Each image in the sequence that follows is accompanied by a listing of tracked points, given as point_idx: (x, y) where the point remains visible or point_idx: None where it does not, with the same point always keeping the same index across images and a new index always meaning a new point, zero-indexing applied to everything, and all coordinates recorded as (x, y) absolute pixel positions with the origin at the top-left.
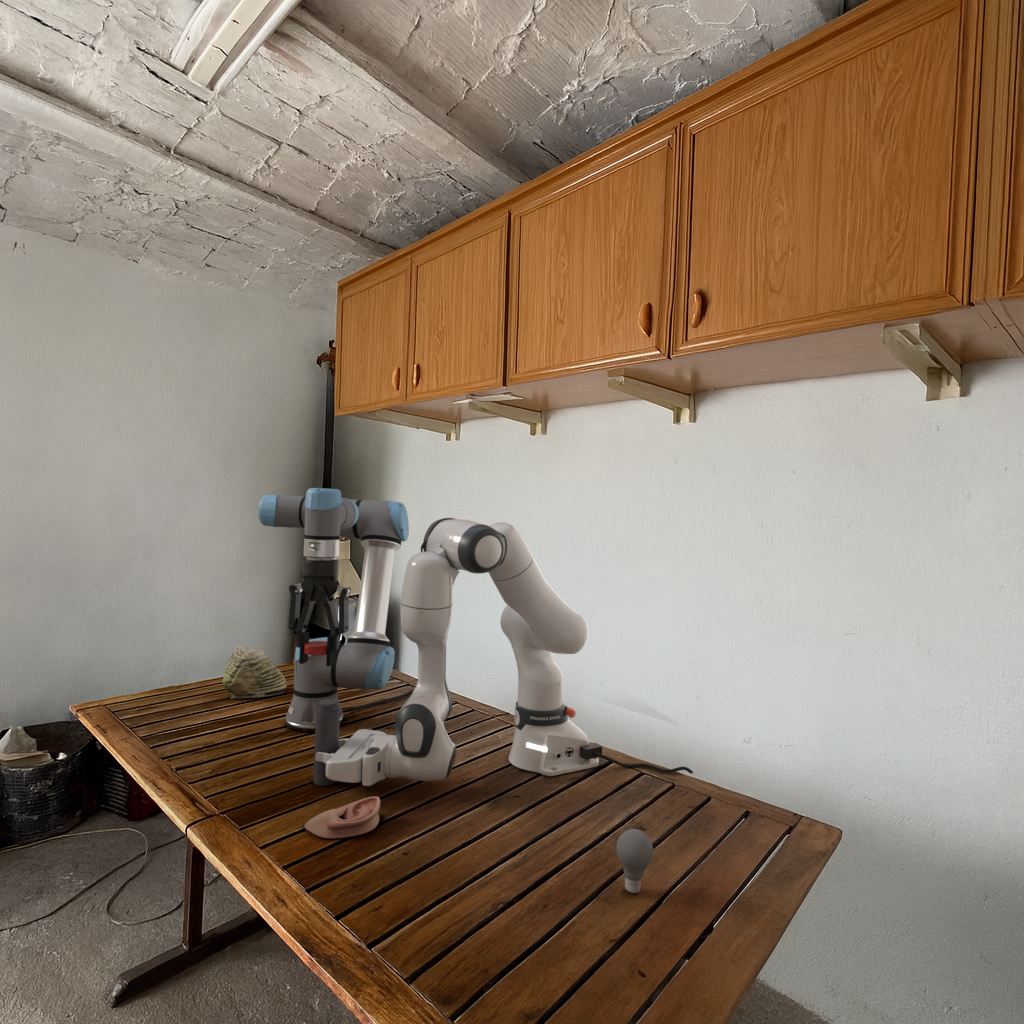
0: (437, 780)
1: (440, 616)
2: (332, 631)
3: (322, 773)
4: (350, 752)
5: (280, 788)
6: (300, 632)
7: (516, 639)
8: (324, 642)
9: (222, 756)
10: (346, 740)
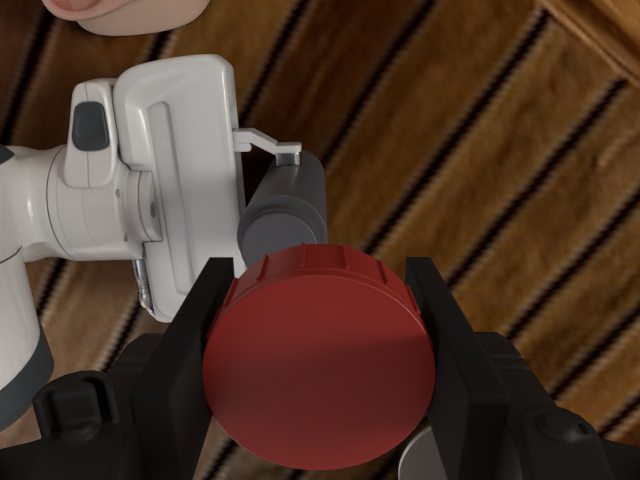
0: None
1: None
2: (83, 448)
3: None
4: (184, 147)
5: (384, 110)
6: (522, 415)
7: None
8: (285, 430)
9: (604, 241)
10: None
